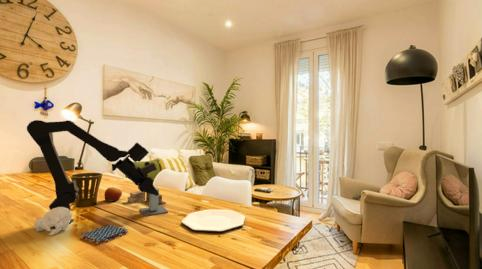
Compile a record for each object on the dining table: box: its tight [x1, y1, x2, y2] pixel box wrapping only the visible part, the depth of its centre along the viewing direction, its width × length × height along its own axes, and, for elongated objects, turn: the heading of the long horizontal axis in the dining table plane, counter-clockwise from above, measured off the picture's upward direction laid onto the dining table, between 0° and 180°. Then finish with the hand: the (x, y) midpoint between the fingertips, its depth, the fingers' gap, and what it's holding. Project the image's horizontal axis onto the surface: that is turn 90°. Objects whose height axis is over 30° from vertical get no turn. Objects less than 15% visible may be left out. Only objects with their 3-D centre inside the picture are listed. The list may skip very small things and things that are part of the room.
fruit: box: [104, 186, 123, 204], centre depth 120 cm, size 8×8×8 cm
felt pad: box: [139, 205, 169, 217], centre depth 104 cm, size 10×10×1 cm
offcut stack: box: [127, 190, 146, 204], centre depth 120 cm, size 7×4×4 cm, turn 140°
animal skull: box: [33, 207, 73, 237], centre depth 80 cm, size 6×8×12 cm
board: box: [148, 186, 160, 211], centre depth 104 cm, size 3×5×9 cm, turn 30°
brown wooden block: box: [145, 192, 167, 206], centre depth 119 cm, size 4×12×4 cm, turn 50°
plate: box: [181, 208, 246, 233], centre depth 92 cm, size 24×24×2 cm
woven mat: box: [80, 224, 129, 246], centre depth 77 cm, size 10×11×2 cm
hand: (157, 193), depth 104 cm, fingers closed on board, 5 cm apart
